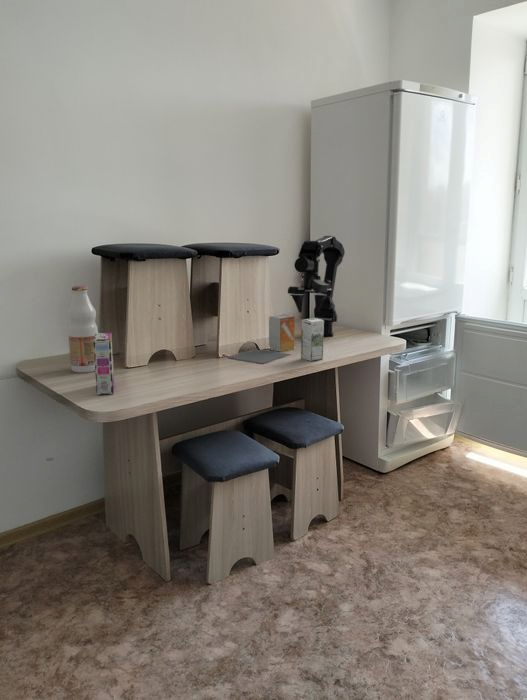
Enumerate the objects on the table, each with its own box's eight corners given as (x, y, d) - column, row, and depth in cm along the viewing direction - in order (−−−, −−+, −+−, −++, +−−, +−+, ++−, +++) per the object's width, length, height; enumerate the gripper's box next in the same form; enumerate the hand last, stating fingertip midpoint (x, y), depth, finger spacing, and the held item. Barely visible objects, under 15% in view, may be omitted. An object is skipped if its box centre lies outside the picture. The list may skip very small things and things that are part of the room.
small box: (280, 352, 216) (280, 318, 213) (268, 349, 220) (268, 316, 217) (294, 348, 221) (295, 315, 218) (283, 346, 226) (283, 313, 223)
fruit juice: (67, 373, 188) (60, 288, 182) (76, 366, 197) (70, 285, 191) (95, 373, 188) (89, 288, 181) (103, 366, 197) (98, 285, 191)
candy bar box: (114, 394, 165) (110, 339, 161) (96, 396, 164) (92, 340, 160) (115, 384, 175) (111, 331, 172) (98, 385, 174) (94, 332, 170)
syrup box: (313, 356, 209) (313, 317, 206) (323, 359, 204) (324, 319, 201) (300, 358, 206) (301, 318, 202) (311, 361, 201) (311, 321, 198)
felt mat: (255, 349, 221) (255, 348, 220) (290, 354, 211) (290, 354, 211) (227, 357, 207) (227, 357, 207) (263, 364, 198) (263, 363, 198)
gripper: (306, 272, 213) (304, 314, 215) (342, 274, 224) (340, 313, 226) (287, 272, 222) (285, 312, 224) (323, 273, 233) (320, 311, 235)
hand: (308, 312), depth 227 cm, fingers open, 9 cm apart
